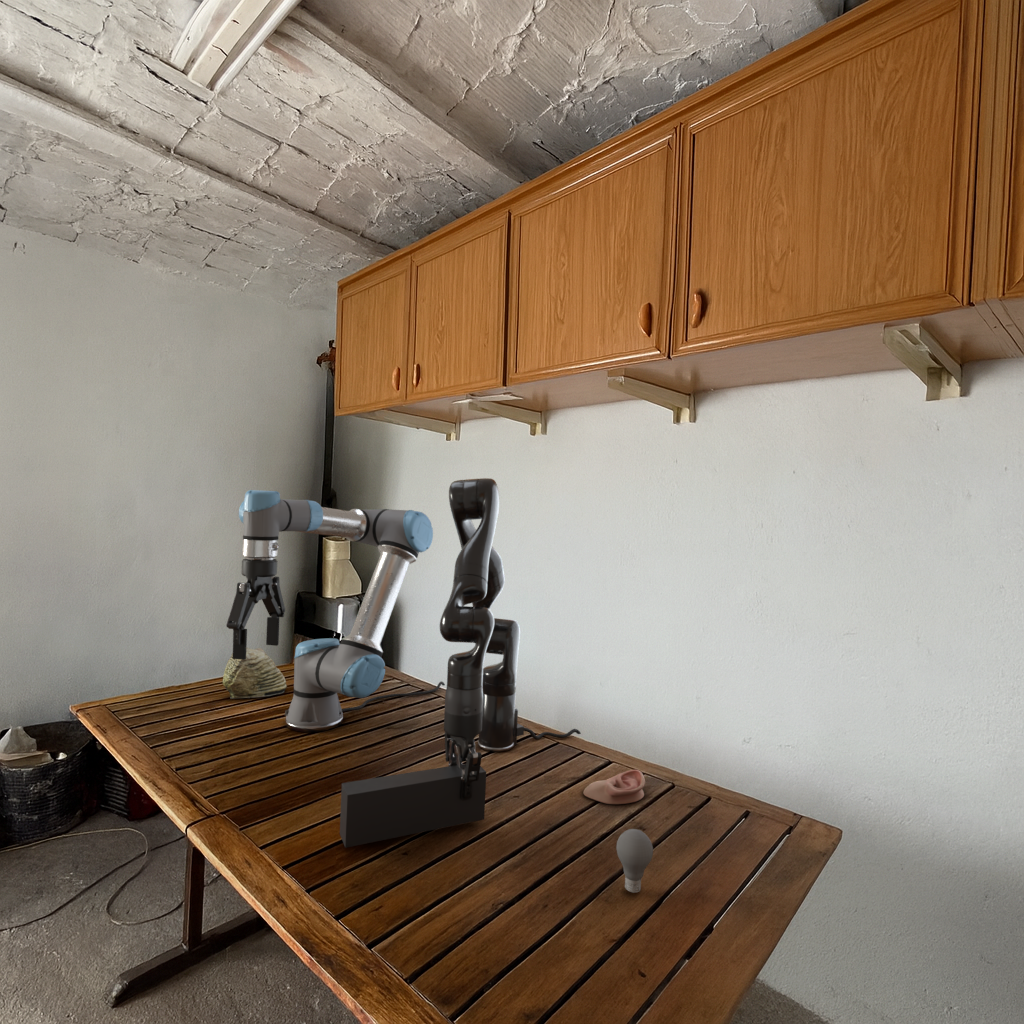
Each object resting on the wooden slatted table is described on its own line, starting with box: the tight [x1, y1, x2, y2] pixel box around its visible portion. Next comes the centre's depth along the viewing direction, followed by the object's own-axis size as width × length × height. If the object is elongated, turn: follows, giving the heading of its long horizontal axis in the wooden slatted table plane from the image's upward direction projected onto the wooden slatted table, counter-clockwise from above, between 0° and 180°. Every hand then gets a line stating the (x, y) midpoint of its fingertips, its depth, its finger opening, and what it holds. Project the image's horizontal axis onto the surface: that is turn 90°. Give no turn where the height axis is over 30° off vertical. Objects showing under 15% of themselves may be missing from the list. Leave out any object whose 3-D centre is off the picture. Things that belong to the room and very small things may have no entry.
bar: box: [339, 765, 487, 849], centre depth 121 cm, size 27×5×10 cm, turn 117°
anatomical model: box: [582, 769, 646, 805], centre depth 141 cm, size 13×4×12 cm
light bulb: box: [615, 828, 654, 894], centre depth 106 cm, size 6×6×10 cm
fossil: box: [222, 646, 288, 699], centre depth 198 cm, size 9×18×15 cm, turn 132°
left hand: (256, 651), depth 144 cm, fingers open, 13 cm apart
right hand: (460, 792), depth 125 cm, fingers closed on bar, 5 cm apart
